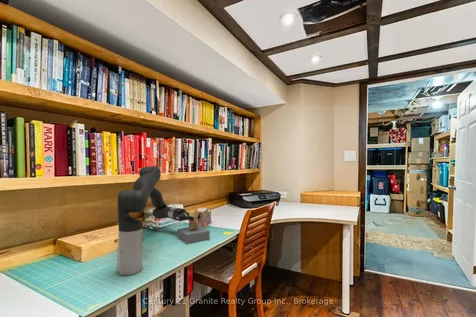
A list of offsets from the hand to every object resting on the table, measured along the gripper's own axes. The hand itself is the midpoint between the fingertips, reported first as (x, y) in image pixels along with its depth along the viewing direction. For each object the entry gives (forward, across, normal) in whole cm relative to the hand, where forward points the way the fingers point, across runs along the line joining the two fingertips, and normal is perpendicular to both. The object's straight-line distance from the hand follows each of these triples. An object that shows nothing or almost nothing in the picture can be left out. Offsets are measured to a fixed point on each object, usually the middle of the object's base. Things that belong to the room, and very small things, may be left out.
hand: (196, 218), depth 142 cm
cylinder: (-3, 0, +6) cm, 7 cm away
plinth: (-3, 0, +12) cm, 13 cm away
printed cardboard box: (-17, +24, +13) cm, 32 cm away
